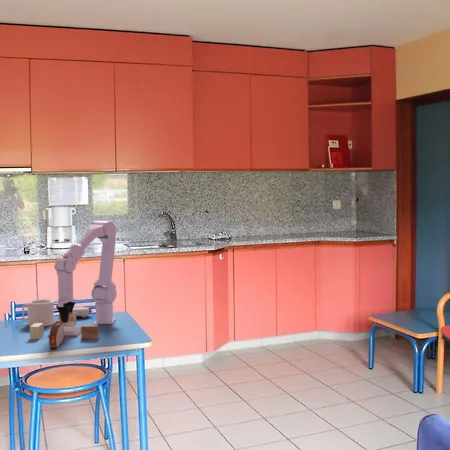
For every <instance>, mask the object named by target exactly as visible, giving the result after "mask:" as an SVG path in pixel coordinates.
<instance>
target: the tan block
mask: <svg viewBox="0 0 450 450" xmlns="http://www.w3.org/2000/svg"><path fill="white" fill-rule="evenodd" d="M57 319H58V320H57V321H61V317H60V314H58V317H57ZM76 325H77V316H76V313H69V316H68V322H67V323H64V327H76Z"/></svg>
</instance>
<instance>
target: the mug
mask: <svg viewBox="0 0 450 450" xmlns="http://www.w3.org/2000/svg"><path fill="white" fill-rule="evenodd" d="M25 307H27V317H25ZM21 309H22V310H21V311H22V319H23V320H24V321H25V320H26V321H27V326H29V327H30V326H31V325H33V324H34V323H43V326H44V327H49V326H52V325H53V324H54V323H55V302H54V300H52V299H46V298H44V299H43V298H42V299H33V300H29V301H28V302H27V303H26V304H22V308H21Z"/></svg>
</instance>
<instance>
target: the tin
mask: <svg viewBox="0 0 450 450" xmlns="http://www.w3.org/2000/svg"><path fill="white" fill-rule="evenodd" d="M50 326H51V327H50V331H49V334H50V335H49V334H48V335H49V337H48V345H49V348H50V349H58V348H59V347H60V346H61V344H62V343H63V341H64V339H65V337H64V322H62V321H59V320H56V321H54V323H53V324H52V325H50Z"/></svg>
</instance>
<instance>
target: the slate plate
mask: <svg viewBox="0 0 450 450" xmlns="http://www.w3.org/2000/svg"><path fill="white" fill-rule="evenodd" d="M49 335H50V333H49V334H48V338H49ZM79 335H81V326H77V327H76V326H74V327H64V338H77V337H79Z"/></svg>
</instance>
